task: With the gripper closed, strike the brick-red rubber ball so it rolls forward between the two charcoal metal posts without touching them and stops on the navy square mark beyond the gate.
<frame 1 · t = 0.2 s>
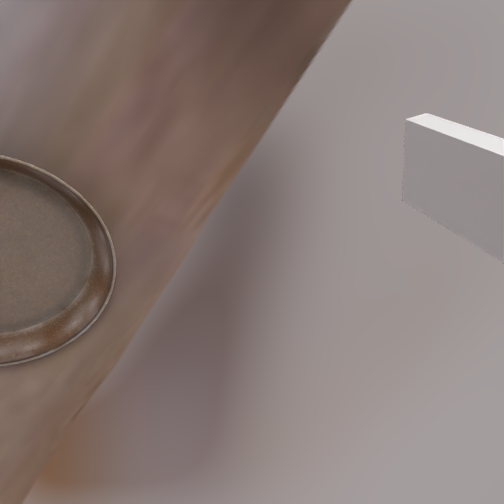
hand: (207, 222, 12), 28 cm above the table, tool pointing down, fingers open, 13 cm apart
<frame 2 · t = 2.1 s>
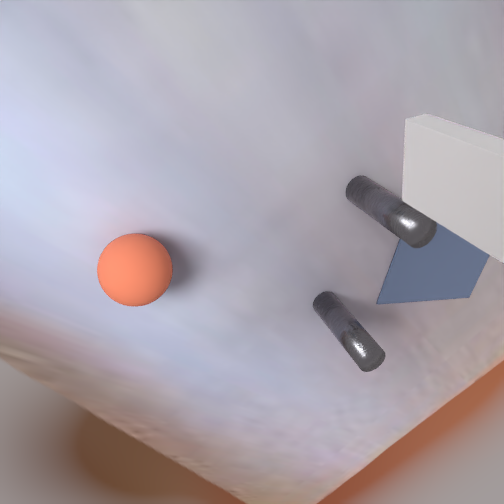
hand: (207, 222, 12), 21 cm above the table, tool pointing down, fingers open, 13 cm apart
post 2: (358, 189, 40), on the table
post 1: (324, 301, 46), on the table
ball: (135, 269, 33), on the table
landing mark: (446, 247, 49), on the table
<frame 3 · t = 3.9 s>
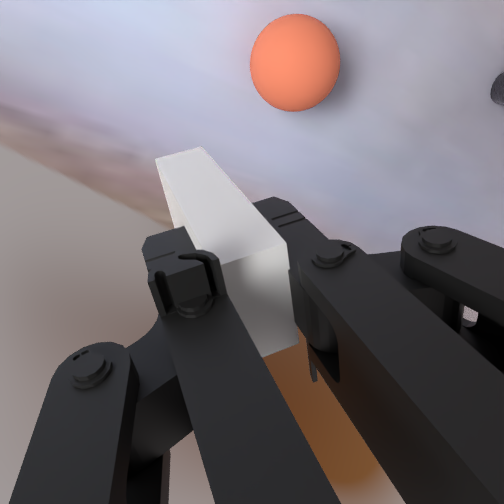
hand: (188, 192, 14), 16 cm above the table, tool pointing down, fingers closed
post 1: (503, 87, 37), on the table
ball: (294, 64, 27), on the table
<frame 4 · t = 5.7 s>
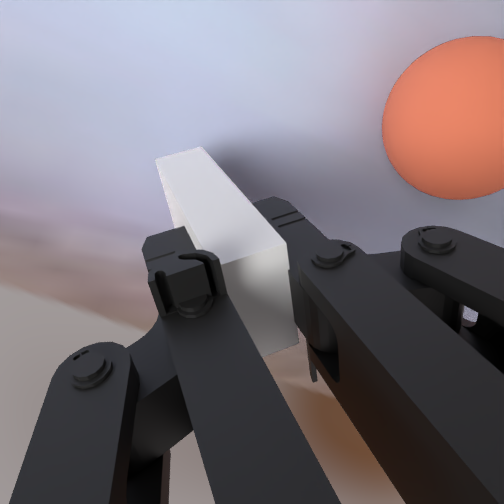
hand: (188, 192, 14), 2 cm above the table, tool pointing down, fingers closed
ball: (462, 121, 16), on the table
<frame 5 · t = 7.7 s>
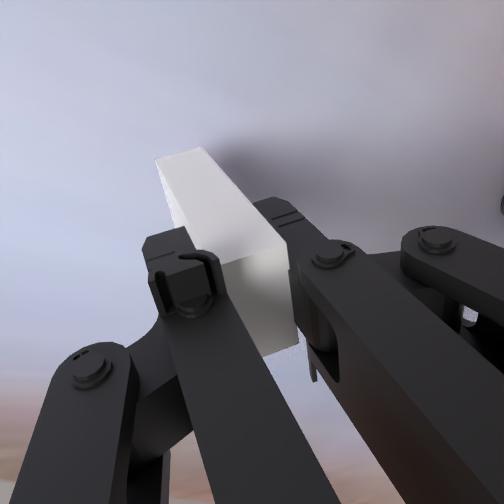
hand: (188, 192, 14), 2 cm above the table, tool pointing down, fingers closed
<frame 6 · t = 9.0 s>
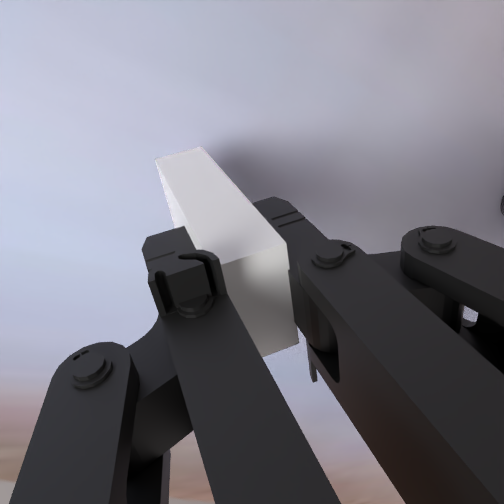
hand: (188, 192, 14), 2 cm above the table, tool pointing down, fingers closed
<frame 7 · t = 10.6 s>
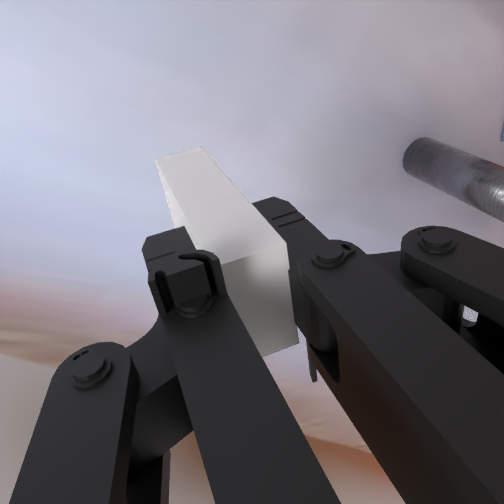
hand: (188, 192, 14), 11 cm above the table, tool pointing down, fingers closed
post 1: (419, 156, 30), on the table
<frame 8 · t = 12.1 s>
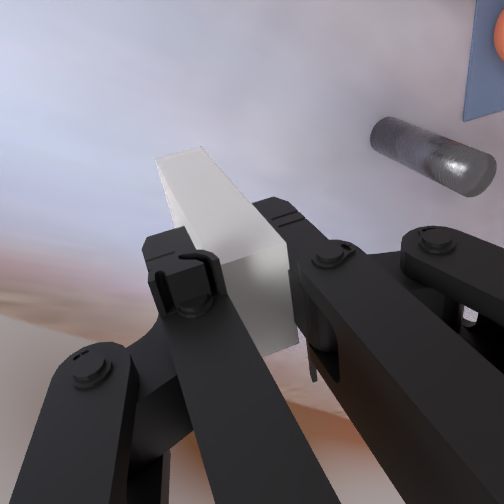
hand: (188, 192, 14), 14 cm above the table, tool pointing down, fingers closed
post 1: (385, 134, 32), on the table
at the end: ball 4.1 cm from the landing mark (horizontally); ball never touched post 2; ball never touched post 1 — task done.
